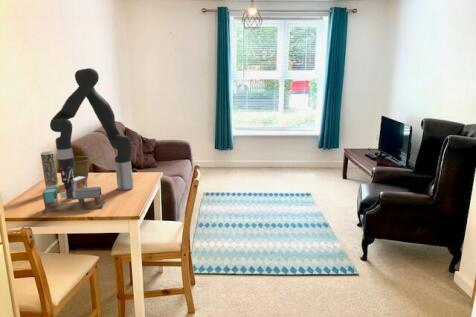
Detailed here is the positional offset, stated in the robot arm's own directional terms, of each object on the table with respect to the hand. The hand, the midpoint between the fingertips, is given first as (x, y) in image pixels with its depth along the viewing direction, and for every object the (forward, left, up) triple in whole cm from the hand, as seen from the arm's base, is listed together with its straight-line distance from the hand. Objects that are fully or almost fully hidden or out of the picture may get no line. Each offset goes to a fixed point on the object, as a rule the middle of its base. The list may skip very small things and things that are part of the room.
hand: (69, 187), depth 185 cm
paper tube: (+18, -28, -12) cm, 35 cm away
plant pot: (+7, -47, -12) cm, 49 cm away
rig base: (-2, 0, -11) cm, 12 cm away
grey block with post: (-5, 0, -6) cm, 8 cm away
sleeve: (-9, 0, -6) cm, 11 cm away
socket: (+10, 0, -7) cm, 12 cm away
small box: (+1, -20, -12) cm, 23 cm away
